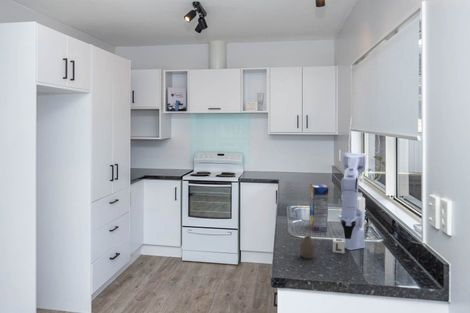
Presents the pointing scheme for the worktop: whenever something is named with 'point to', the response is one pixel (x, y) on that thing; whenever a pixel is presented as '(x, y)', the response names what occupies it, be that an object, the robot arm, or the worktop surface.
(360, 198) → the milk
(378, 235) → the worktop surface
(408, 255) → the worktop surface
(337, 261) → the worktop surface
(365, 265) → the worktop surface
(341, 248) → the letter cube
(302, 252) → the vase
